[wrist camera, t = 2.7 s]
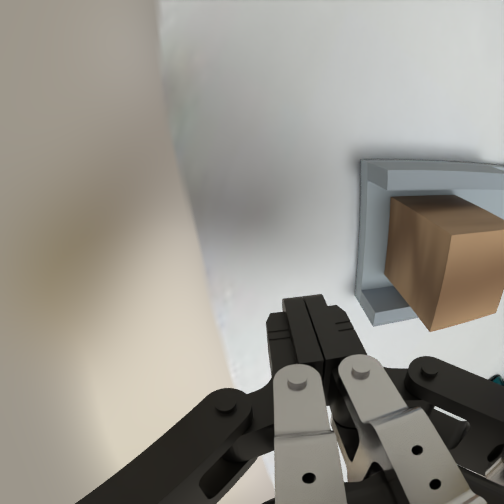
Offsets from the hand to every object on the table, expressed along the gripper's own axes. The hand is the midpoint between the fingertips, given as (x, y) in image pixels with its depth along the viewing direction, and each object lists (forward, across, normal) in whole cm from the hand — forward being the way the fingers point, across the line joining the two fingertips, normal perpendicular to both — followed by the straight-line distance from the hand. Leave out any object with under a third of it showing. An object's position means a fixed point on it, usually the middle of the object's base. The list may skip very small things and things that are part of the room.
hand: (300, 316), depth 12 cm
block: (+6, -9, 0) cm, 11 cm away
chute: (+7, -16, 0) cm, 18 cm away
